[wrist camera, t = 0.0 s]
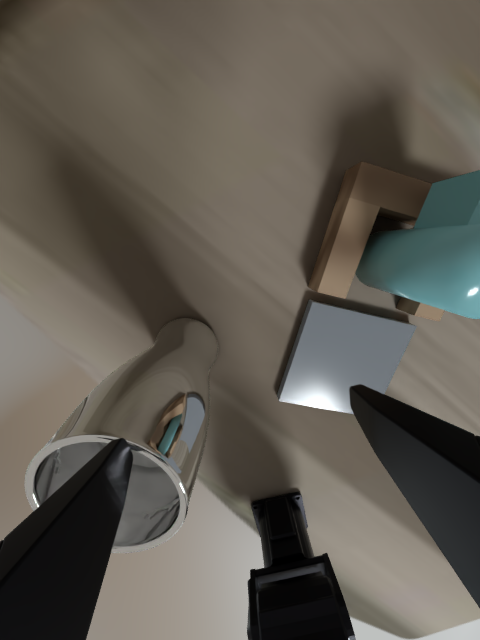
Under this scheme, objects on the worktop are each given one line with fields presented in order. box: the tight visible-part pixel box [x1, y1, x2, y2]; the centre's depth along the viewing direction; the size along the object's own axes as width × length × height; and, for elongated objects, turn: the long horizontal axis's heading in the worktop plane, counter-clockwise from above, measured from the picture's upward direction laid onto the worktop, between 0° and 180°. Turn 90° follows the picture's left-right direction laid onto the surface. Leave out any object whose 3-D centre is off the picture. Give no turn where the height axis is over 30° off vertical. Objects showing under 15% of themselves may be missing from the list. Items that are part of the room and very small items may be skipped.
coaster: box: [277, 299, 417, 414], centre depth 25 cm, size 11×11×1 cm
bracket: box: [308, 161, 445, 321], centre depth 21 cm, size 10×12×2 cm
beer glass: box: [25, 318, 218, 553], centre depth 17 cm, size 7×7×15 cm
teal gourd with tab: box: [355, 170, 480, 319], centre depth 18 cm, size 8×5×10 cm, turn 166°
